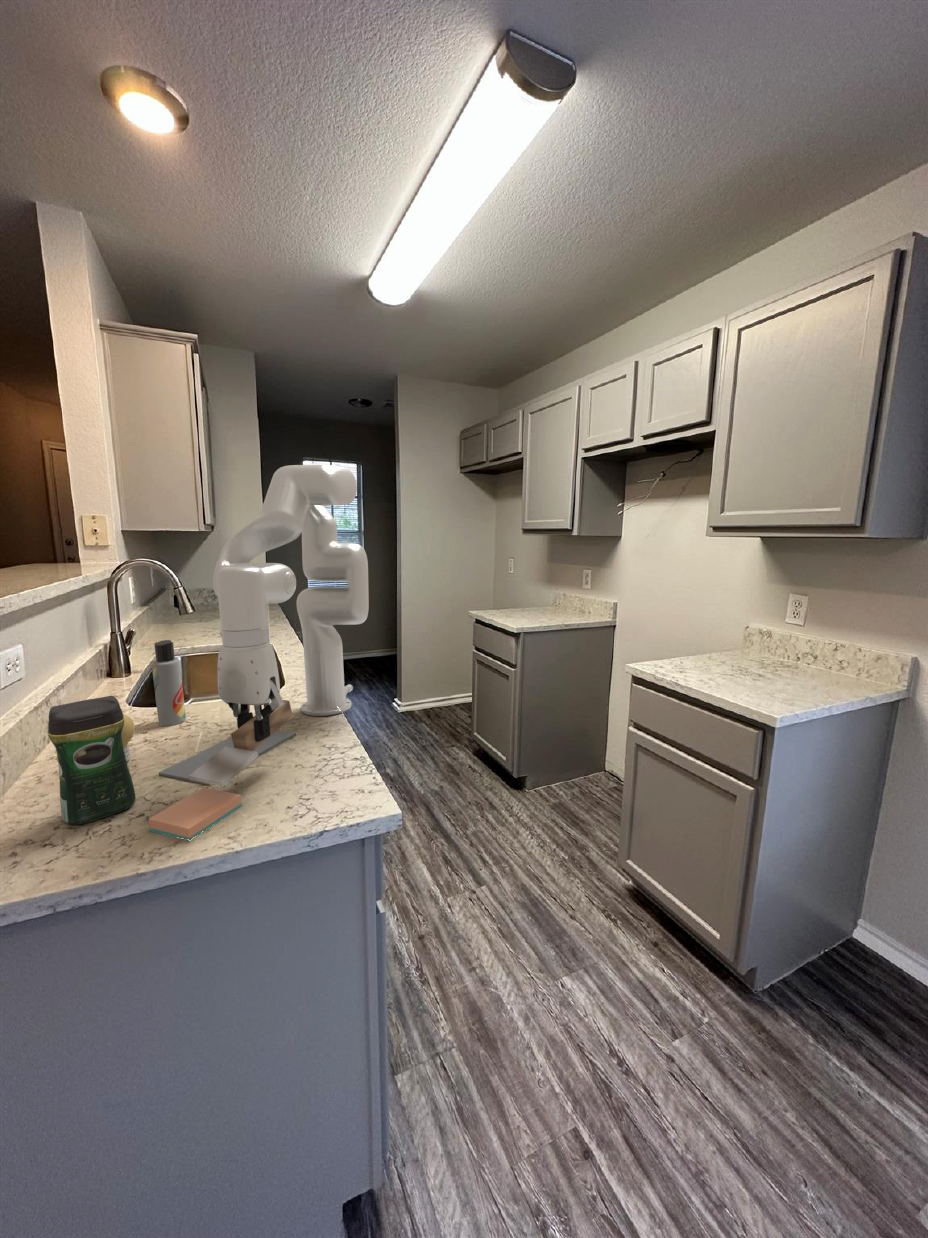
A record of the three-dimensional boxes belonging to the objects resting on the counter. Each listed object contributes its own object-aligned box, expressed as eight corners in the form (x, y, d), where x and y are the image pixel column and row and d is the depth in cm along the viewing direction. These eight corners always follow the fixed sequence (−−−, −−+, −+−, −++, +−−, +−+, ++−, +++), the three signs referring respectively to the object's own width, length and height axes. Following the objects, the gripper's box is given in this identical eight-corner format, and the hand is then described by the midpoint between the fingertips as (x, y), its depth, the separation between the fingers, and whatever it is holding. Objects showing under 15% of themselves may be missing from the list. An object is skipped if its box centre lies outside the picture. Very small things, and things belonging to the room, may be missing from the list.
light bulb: (94, 773, 91) (87, 723, 90) (104, 760, 97) (97, 712, 95) (134, 767, 94) (128, 718, 92) (141, 754, 100) (135, 707, 98)
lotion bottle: (191, 718, 120) (182, 638, 117) (175, 726, 114) (166, 643, 111) (169, 717, 120) (160, 638, 117) (153, 726, 115) (143, 643, 112)
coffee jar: (131, 791, 85) (118, 688, 82) (139, 809, 79) (125, 699, 76) (59, 812, 78) (42, 701, 75) (63, 833, 72) (44, 715, 70)
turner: (272, 713, 96) (268, 698, 95) (301, 717, 94) (297, 701, 93) (189, 779, 79) (183, 761, 77) (223, 786, 76) (217, 768, 75)
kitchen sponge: (203, 787, 82) (148, 819, 73) (241, 795, 79) (188, 829, 70) (205, 800, 82) (150, 833, 73) (242, 808, 80) (190, 844, 70)
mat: (253, 728, 113) (253, 726, 113) (296, 734, 109) (296, 732, 109) (159, 775, 90) (158, 772, 90) (208, 785, 86) (207, 782, 86)
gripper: (192, 639, 83) (202, 739, 86) (268, 645, 78) (277, 752, 81) (226, 631, 90) (235, 724, 93) (299, 636, 85) (305, 735, 88)
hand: (254, 736), depth 87 cm, fingers closed on turner, 3 cm apart
